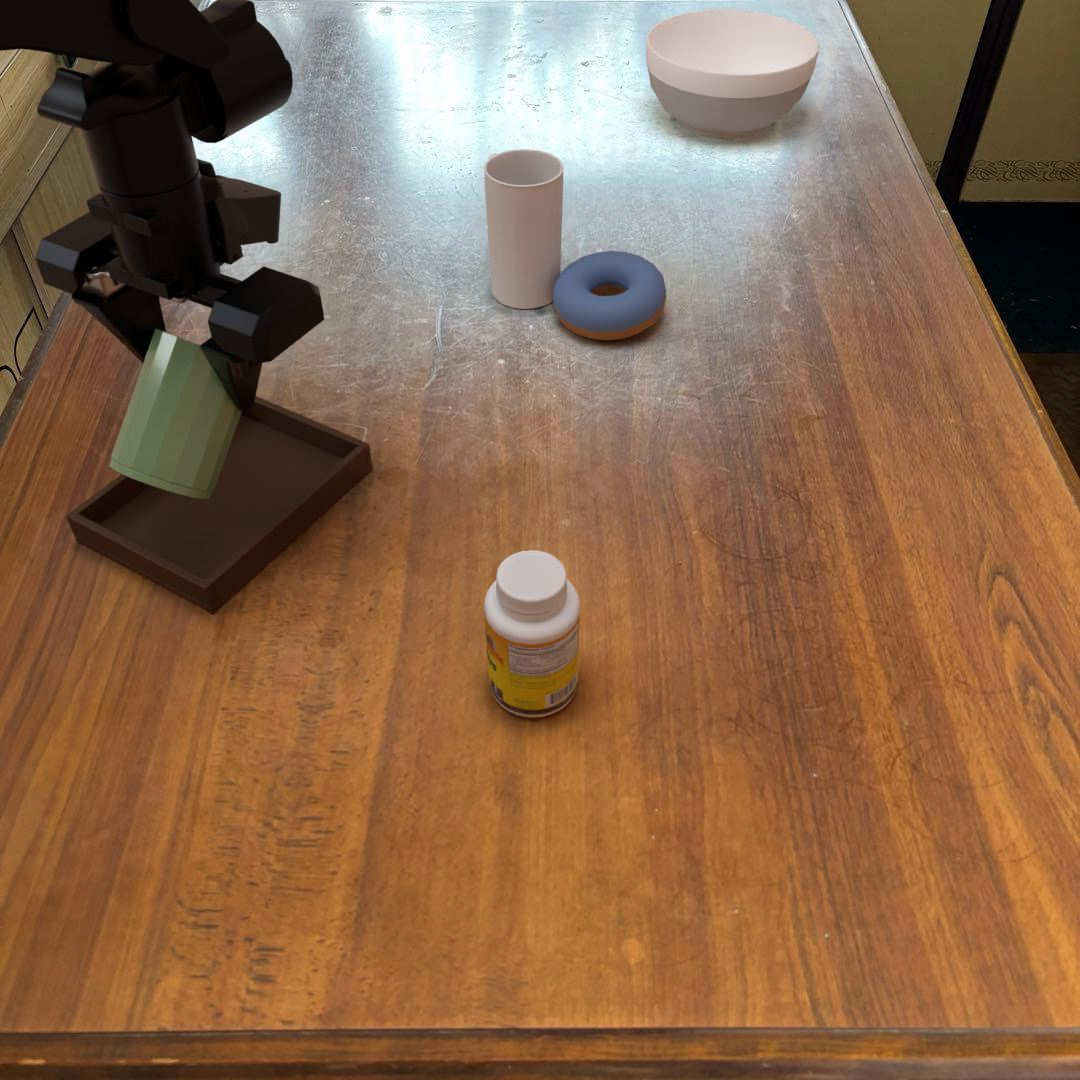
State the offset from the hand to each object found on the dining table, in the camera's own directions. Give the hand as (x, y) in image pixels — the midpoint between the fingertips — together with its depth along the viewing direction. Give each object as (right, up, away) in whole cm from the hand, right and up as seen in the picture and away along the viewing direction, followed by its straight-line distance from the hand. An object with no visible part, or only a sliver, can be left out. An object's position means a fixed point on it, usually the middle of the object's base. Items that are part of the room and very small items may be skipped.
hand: (206, 392), depth 74 cm
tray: (0, -7, +6) cm, 10 cm away
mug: (+20, +14, +28) cm, 37 cm away
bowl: (+44, +38, +53) cm, 78 cm away
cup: (-3, -6, -1) cm, 7 cm away
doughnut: (+29, +10, +24) cm, 38 cm away
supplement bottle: (+22, -19, -5) cm, 30 cm away
